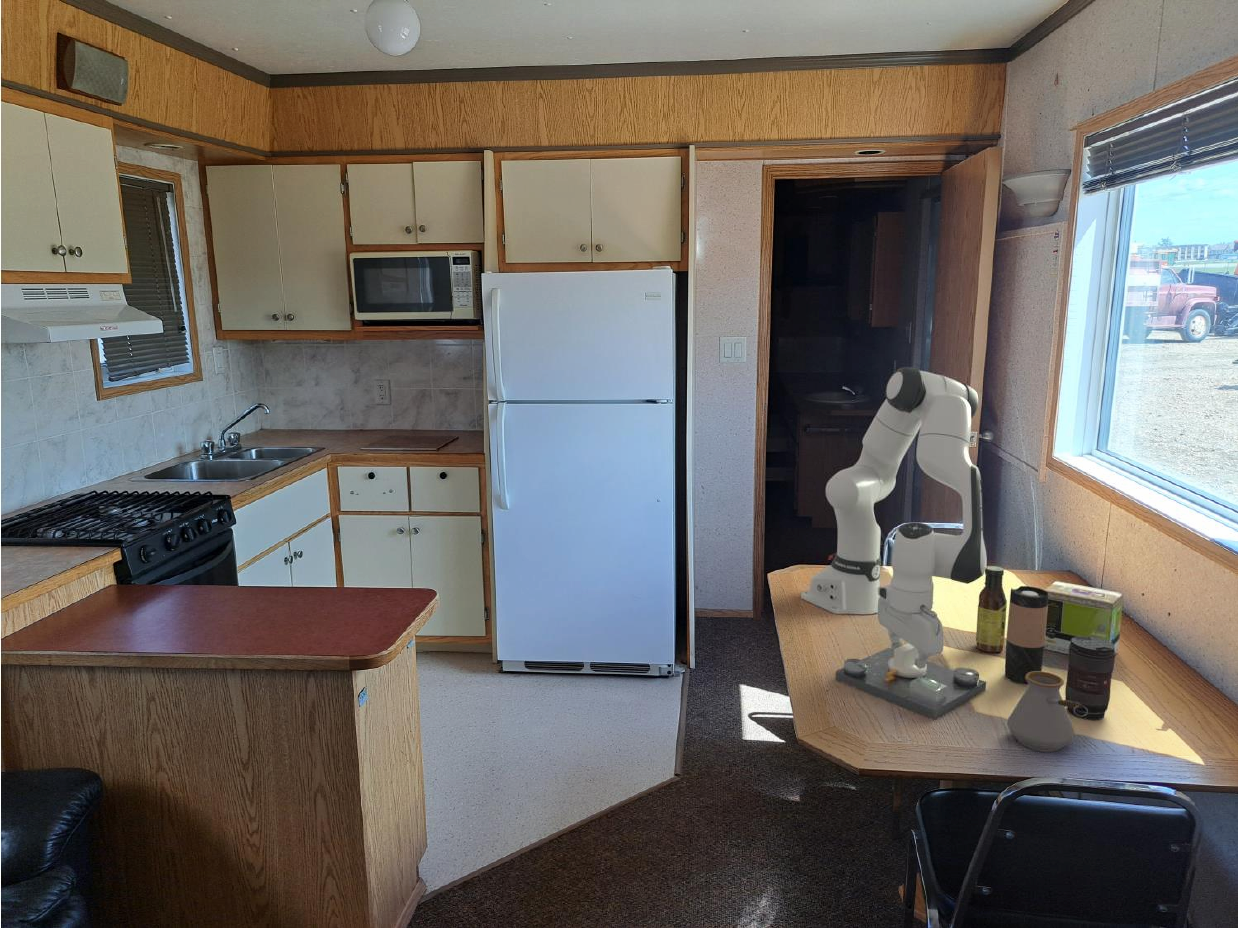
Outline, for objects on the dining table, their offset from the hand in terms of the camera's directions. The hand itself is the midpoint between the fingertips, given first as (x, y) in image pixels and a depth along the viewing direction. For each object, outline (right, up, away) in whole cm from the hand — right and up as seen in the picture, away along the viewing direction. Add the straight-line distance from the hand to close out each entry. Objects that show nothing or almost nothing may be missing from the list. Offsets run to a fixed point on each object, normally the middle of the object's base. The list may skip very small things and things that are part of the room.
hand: (907, 658), depth 191 cm
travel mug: (+26, -5, +1) cm, 26 cm away
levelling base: (0, -5, -2) cm, 6 cm away
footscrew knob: (-1, -3, 0) cm, 3 cm away
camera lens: (+31, -8, -15) cm, 35 cm away
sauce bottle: (+25, -2, +17) cm, 31 cm away
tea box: (+46, -2, +16) cm, 48 cm away
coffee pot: (+16, -11, -31) cm, 36 cm away
